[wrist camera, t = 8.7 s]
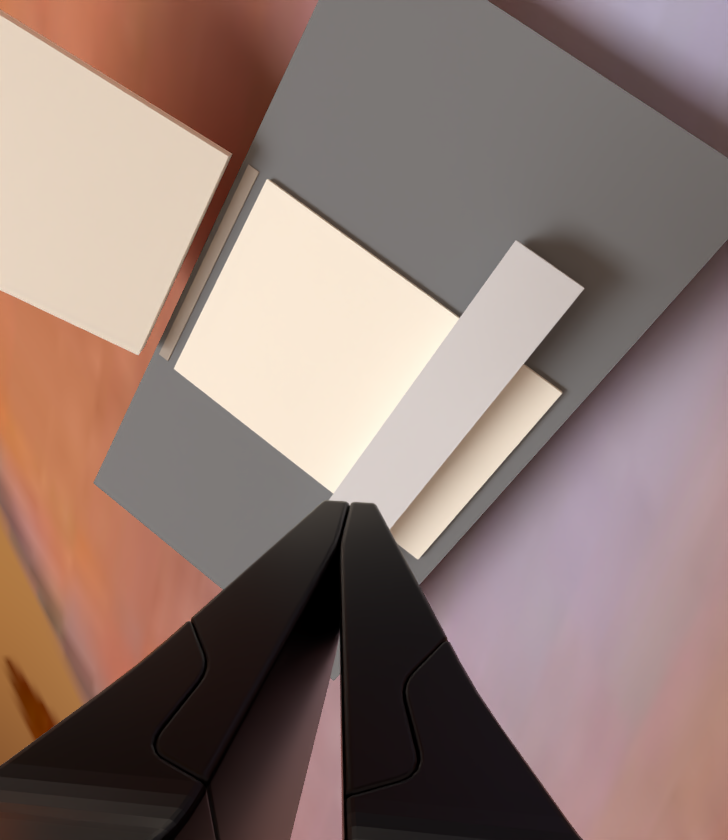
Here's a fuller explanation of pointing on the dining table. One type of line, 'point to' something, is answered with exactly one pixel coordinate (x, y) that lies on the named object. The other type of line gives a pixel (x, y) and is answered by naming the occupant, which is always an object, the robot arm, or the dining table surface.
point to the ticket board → (409, 284)
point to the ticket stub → (93, 190)
